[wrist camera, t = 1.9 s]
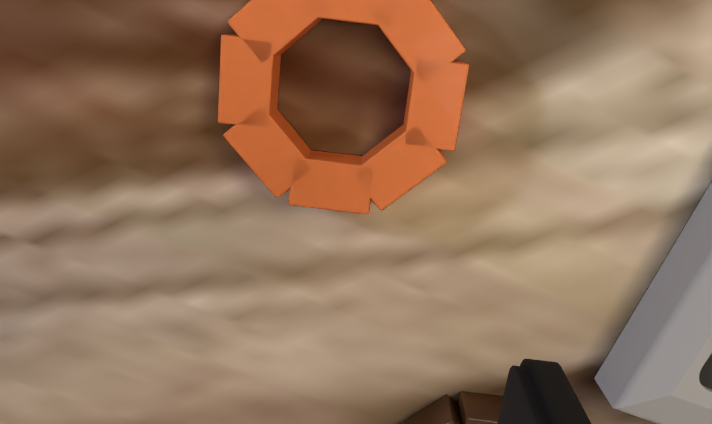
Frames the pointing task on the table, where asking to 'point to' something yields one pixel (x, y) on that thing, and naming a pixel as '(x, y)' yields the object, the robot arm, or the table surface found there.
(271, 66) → the terracotta ring
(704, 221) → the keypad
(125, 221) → the table surface
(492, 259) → the table surface
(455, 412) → the walnut ring
